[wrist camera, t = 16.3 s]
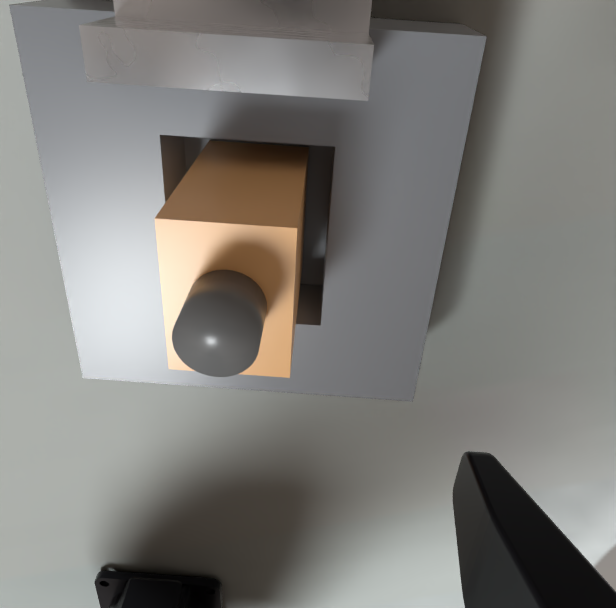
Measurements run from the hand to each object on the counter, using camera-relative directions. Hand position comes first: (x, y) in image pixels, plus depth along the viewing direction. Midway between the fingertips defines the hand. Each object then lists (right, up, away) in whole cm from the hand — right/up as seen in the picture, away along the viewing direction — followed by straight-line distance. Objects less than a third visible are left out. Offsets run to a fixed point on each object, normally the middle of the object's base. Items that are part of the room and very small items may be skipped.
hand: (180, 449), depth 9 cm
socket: (0, +6, +9) cm, 11 cm away
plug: (0, +5, +9) cm, 10 cm away
